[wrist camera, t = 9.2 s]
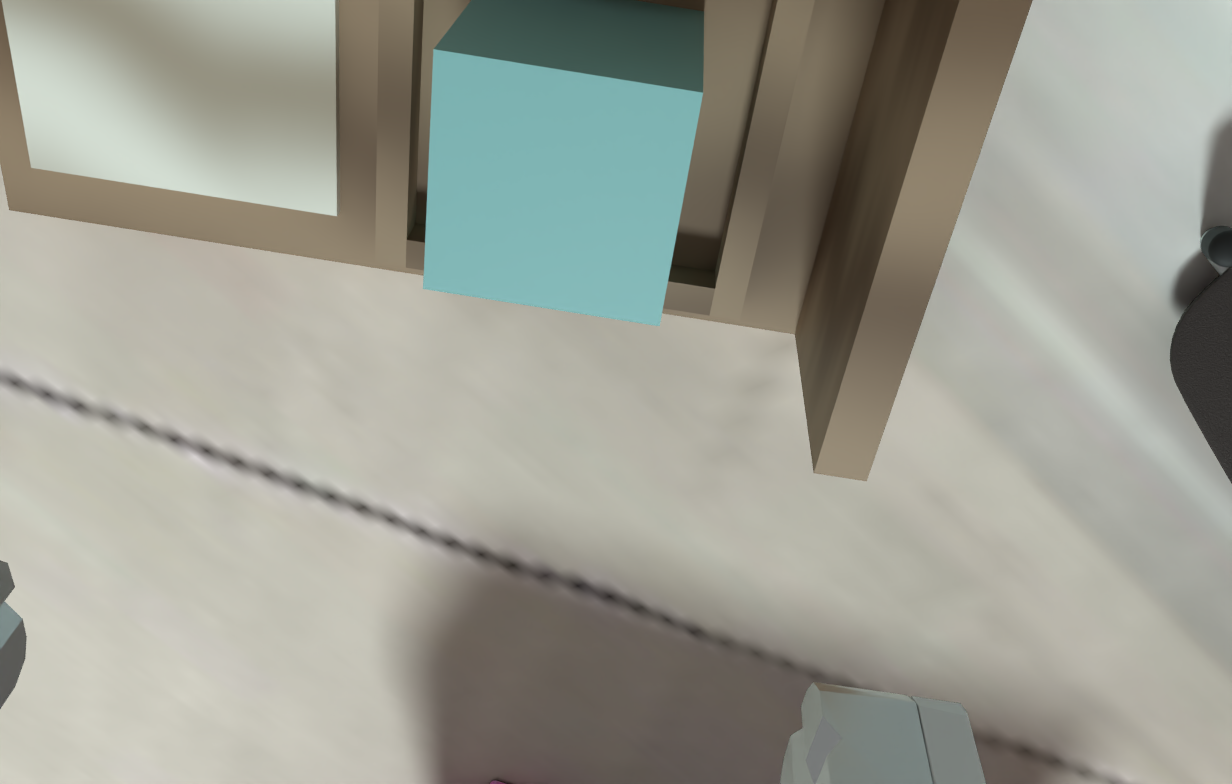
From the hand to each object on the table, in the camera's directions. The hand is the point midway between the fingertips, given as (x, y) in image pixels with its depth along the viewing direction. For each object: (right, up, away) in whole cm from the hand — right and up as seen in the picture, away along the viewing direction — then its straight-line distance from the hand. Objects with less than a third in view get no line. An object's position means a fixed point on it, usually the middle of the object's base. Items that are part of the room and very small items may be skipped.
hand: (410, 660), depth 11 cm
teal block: (+1, +10, +15) cm, 18 cm away
